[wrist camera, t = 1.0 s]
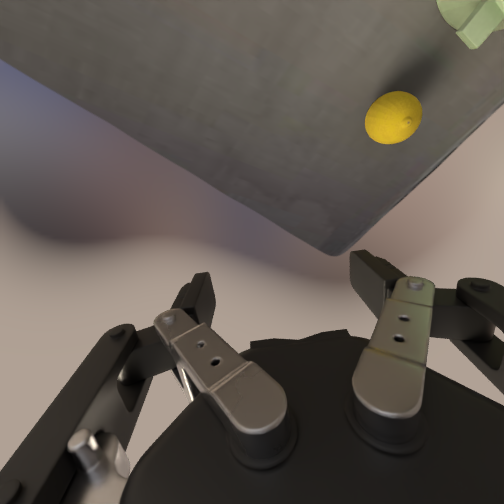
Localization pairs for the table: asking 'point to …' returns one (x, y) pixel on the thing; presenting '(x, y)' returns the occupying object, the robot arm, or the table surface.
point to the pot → (472, 19)
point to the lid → (500, 4)
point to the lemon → (393, 117)
